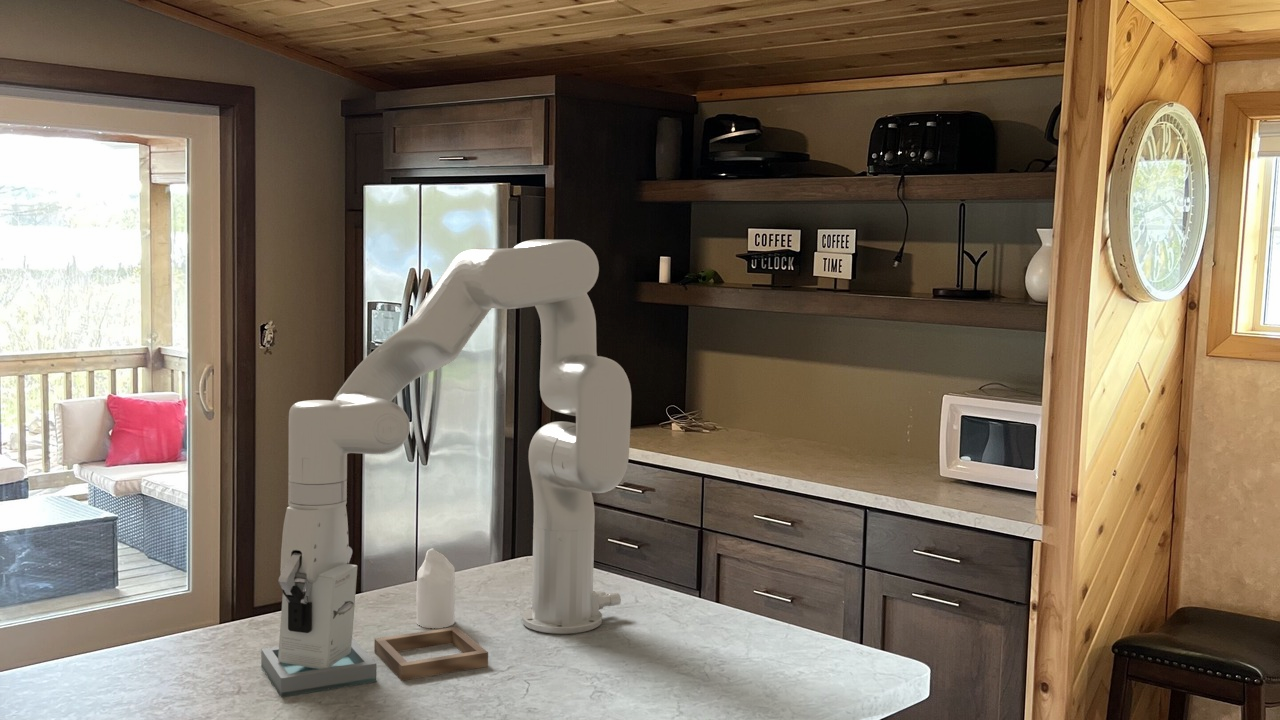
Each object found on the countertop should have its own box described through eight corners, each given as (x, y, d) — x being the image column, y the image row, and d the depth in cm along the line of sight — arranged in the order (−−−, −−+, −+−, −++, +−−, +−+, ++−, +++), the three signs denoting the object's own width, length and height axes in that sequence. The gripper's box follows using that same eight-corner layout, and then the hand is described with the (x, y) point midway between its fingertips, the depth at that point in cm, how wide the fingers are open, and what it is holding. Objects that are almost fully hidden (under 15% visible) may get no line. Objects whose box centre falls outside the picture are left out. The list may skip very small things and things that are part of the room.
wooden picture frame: (456, 639, 169) (456, 626, 169) (487, 666, 158) (488, 652, 158) (374, 652, 163) (374, 638, 163) (401, 680, 152) (401, 666, 152)
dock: (351, 653, 162) (351, 636, 162) (376, 681, 151) (376, 663, 151) (261, 666, 156) (261, 648, 156) (281, 697, 145) (281, 678, 145)
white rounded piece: (460, 544, 178) (448, 553, 172) (459, 619, 179) (447, 630, 173) (423, 542, 179) (410, 550, 173) (422, 616, 180) (410, 627, 174)
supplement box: (327, 671, 149) (333, 577, 148) (275, 662, 150) (282, 569, 149) (353, 654, 156) (359, 564, 155) (303, 646, 158) (309, 556, 157)
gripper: (327, 479, 161) (326, 601, 162) (254, 503, 144) (254, 638, 146) (374, 484, 159) (373, 607, 160) (307, 508, 142) (306, 645, 144)
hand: (317, 621), depth 153 cm, fingers closed on supplement box, 7 cm apart
